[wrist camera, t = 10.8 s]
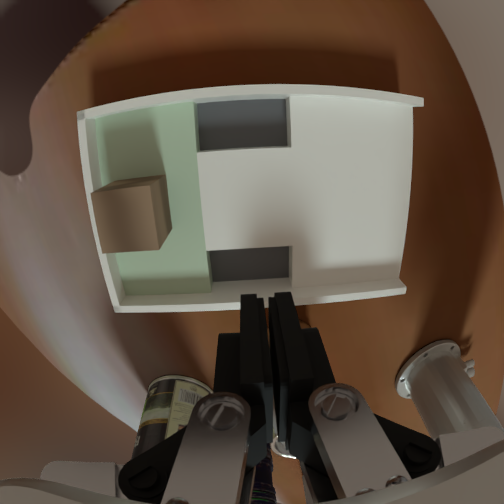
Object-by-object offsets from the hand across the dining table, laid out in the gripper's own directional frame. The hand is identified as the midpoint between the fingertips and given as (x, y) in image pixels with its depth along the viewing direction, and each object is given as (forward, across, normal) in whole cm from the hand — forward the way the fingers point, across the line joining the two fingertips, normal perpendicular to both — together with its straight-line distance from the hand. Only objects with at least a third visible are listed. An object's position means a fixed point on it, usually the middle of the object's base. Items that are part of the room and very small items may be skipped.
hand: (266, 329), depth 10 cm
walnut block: (+17, +10, -1) cm, 20 cm away
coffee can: (+20, +12, +28) cm, 37 cm away
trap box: (+20, 0, 0) cm, 20 cm away
